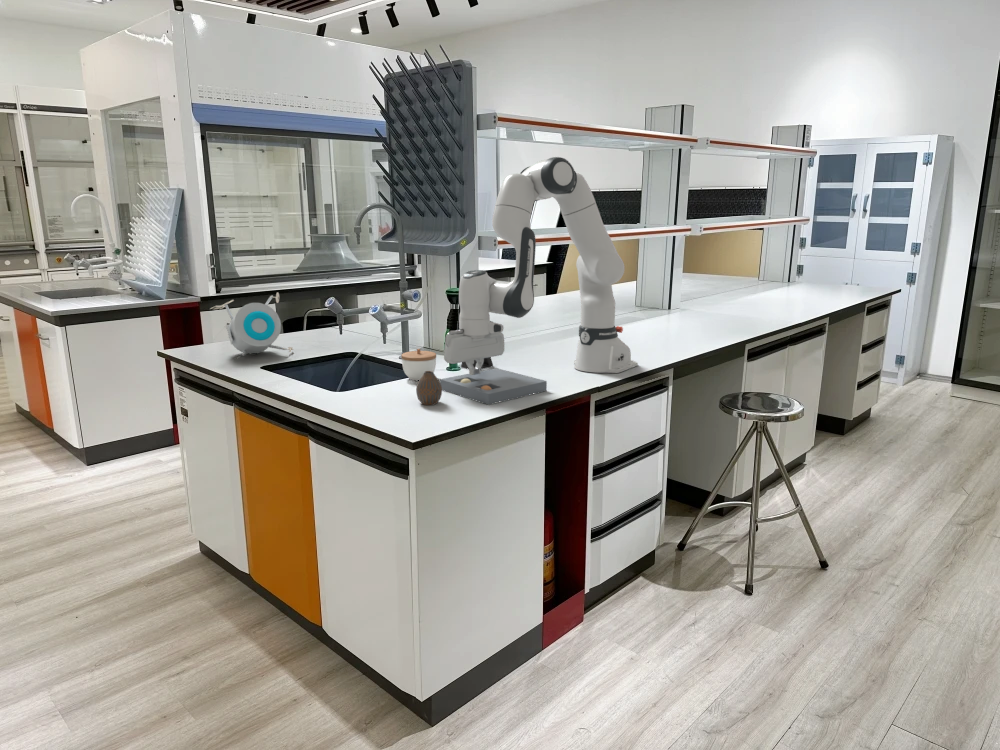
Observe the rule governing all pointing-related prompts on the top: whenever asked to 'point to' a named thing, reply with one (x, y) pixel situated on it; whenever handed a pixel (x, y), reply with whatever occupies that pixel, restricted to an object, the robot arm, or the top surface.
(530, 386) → the hole plate
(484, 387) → the terracotta ball
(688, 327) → the top surface
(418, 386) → the vase
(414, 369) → the lidded jar
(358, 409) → the top surface
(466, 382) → the sand ball
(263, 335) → the satellite
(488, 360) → the door stopper
